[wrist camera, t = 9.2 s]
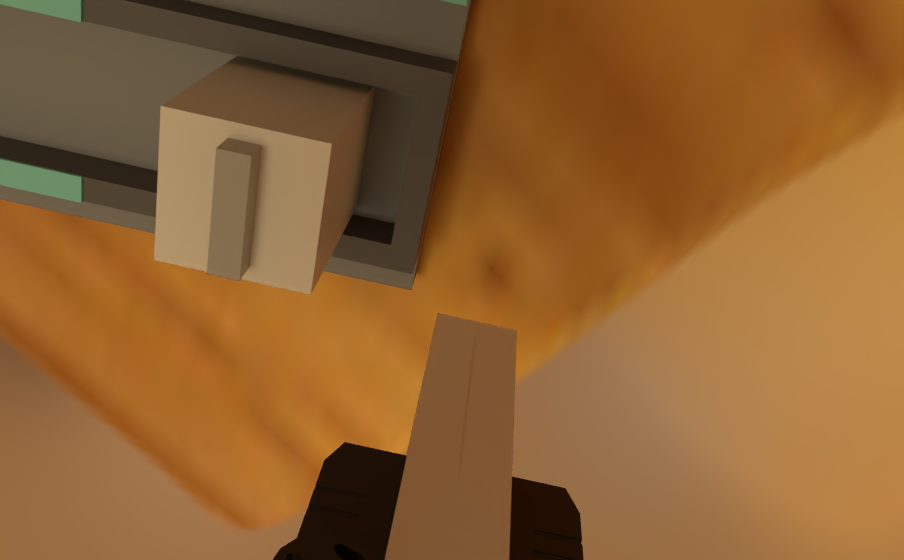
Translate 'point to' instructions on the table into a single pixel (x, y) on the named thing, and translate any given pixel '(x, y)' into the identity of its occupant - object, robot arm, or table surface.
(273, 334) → the table surface
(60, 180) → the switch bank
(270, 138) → the beige handled cube
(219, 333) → the table surface
